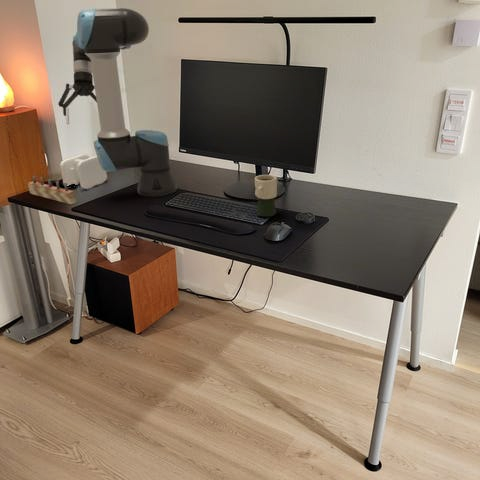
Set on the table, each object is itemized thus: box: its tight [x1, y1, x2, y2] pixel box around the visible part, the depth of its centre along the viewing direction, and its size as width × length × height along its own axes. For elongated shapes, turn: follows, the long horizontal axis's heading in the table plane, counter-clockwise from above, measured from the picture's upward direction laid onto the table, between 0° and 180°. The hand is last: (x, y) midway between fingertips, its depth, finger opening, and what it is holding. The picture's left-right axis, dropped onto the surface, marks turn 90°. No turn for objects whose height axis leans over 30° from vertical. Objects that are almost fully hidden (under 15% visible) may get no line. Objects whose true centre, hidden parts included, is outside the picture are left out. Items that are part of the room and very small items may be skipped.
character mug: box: [254, 174, 278, 217], centre depth 161 cm, size 11×7×13 cm, turn 153°
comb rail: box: [27, 175, 78, 205], centre depth 187 cm, size 26×2×7 cm, turn 55°
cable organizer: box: [59, 153, 108, 190], centre depth 200 cm, size 15×11×12 cm
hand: (84, 124), depth 206 cm, fingers open, 13 cm apart
